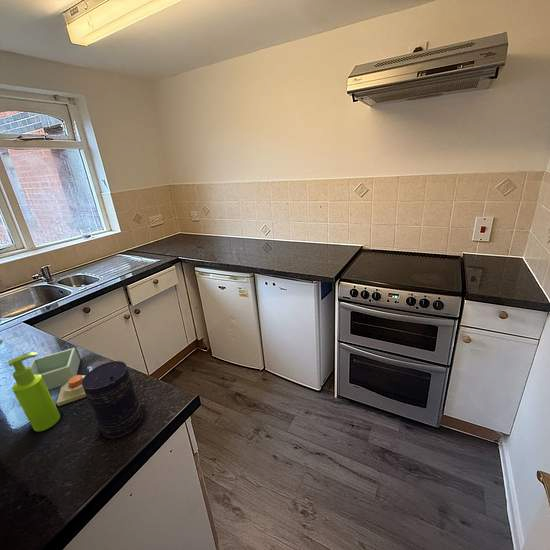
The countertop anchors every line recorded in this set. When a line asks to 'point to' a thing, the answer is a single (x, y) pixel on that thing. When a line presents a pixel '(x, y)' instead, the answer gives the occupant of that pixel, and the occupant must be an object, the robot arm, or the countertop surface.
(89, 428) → the countertop surface
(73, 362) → the box
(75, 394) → the control box
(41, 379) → the soap dispenser
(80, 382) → the button
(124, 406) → the storage jar
